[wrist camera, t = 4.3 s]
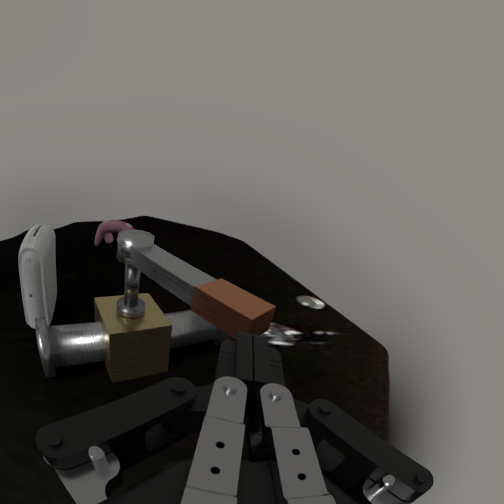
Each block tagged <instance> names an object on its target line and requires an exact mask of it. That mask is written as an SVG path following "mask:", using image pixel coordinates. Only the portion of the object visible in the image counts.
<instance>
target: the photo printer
mask: <svg viewBox="0 0 504 504" xmlns="http://www.w3.org/2000/svg"><path fill="white" fill-rule="evenodd" d="M18 262H19V274H20V283H21V291H22V298H23V305H24V311H25V317H26V322H27V324H28V325H30V326H31V327H32V328H35V329H36V327H35V318H40V317H45V318H46V323H47V326H50V324H51V321H52V317H53V313H54V309H55V303H56V297H57V282H56V255H55V233H54V230H53V229H52V227H51V226H49V225H48V224H44V225H43V224H37V225H35V226H34V227H32V229H30V230H29V232H28V233H27V235H26V236H25V238H24V240H23V242H22V244H21V247H20V251H19V257H18Z"/></svg>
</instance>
